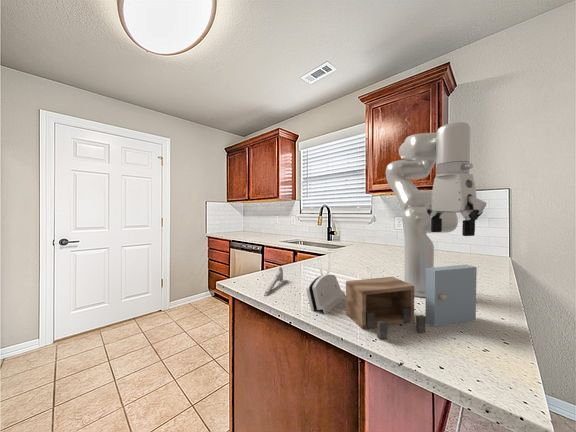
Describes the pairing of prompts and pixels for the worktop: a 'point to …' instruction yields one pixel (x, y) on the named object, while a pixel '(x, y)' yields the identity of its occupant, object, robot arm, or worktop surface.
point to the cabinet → (381, 304)
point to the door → (450, 295)
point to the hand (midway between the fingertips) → (451, 233)
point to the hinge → (324, 293)
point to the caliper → (278, 278)
